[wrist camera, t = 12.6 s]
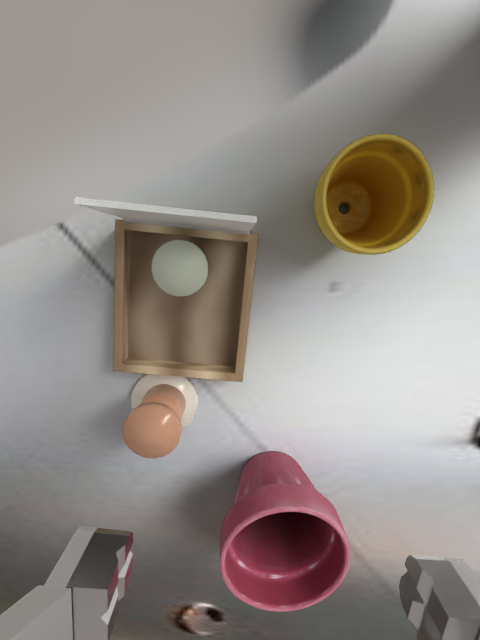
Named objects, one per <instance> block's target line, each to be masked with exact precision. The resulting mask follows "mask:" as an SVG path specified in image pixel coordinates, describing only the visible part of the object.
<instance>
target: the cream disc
mask: <svg viewBox="0 0 480 640" xmlns="http://www.w3.org/2000/svg"><path fill="white" fill-rule="evenodd" d="M159 384H169V385H172V386H174V387H176V388H178V389H179V390H180V391H181V392H182V394H183V395H184V397H185V401H186V406H185V410H184V414H183V417H182V420H181V429H183V428H185V427H186V426H188V425H189V424H190V423H191V422H192V420H193V419H194V417H195V415H196V412H197V409H198V394H197V391H196V389H195V387H194V385H193V384H192V382H191V381H190V380H189V379H188V378H187V377H179V376H168V375H156V374H146V375H145V376H144V377H142V378H141V379H140V380H139V382H138V383H137V384H136V386H135V387H134V389H133V391H132V394H131V408H132V410H133V409H134V408H136V407H137V406H139V404H140V403H141V401H142V400H143V398H144V396H145V395H146V393H147V392H148V390H149V389H151V388H152V387H154V386H156V385H159Z"/></svg>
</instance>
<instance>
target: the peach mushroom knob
mask: <svg viewBox="0 0 480 640" xmlns="http://www.w3.org/2000/svg"><path fill="white" fill-rule="evenodd" d="M185 406H186V401H185V397H184V395H183V394H182V392H181V391H180V390H179V389H178V388H176V387H174V386H172V385H169V384H159V385H156V386H154V387H152V388H151V389H149V390H148V392H147V393H146V395H145V396H144V398H143V400H142V401H141V403H140V404H139V406H137V407H136V408H134V409H133V410H132V411H131V413H130V414H129V416H128V417H127V419H126V420H125V422H124V425H123V438H124V441H125V443H126V444H127V446H128V447H129V448H130V449H131V450H132V451H133V452H134V453H136V454H138V455H140V456H142V457H146V458H159V457H163V456H165V455H167V454H169V453H170V452H171V451H173V450H174V448H175V447H176V446H177V444H178V441H179V438H180V435H181V430H182V429H181V420H182V417H183V414H184V410H185Z"/></svg>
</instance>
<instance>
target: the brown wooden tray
mask: <svg viewBox="0 0 480 640" xmlns="http://www.w3.org/2000/svg"><path fill="white" fill-rule="evenodd" d="M173 240H183V241H188V242H191V243H193V244H195V245H196V246H197V247H199V248H200V249H201V250H202V252H203V253H204V254H205V256H206V257H207V260H208V276H207V279H206V281H205V283H204V284H203V286H202V287H201V288H200V289H199V290H198V291H196V292H195V293H193V294H191V295H188V296H182V297H181V296H173V295H170V294H168V293H166V292H165V291H163V290H162V289H161V288H160V287H159V286H158V285H157V283H156V282H155V280H154V277H153V274H152V260H153V257H154V255H155V253H156V251H157V250H158V249H159V248H160V247H161V246H162V245H163V244H165V243H167V242H170V241H173ZM257 242H258V234H254V233H250V235H246V234H236V233H227V232H217V231H208V230H198V229H188V228H179V227H169V226H160V225H150V224H140V223H131V222H124V220H120V219H115V289H114V368H113V371H121V372H133V373H144V374H156V375H168V376H179V377H191V378H203V379H214V380H226V381H237V382H242V381H243V371H244V362H245V353H246V344H247V334H248V325H249V316H250V307H251V298H252V288H253V279H254V270H255V261H256V251H257Z"/></svg>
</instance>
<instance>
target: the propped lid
mask: <svg viewBox="0 0 480 640" xmlns="http://www.w3.org/2000/svg"><path fill="white" fill-rule="evenodd" d="M75 204H77V205H80V206H84V207H87V208H90V209H94V210H97V211H101V212H104V213H107V214H111V215H114V216H118V217H121V218H123V220H124V222H131V223H140V224H150V225H160V226H169V227H179V228H188V229H198V230H208V231H217V232H227V233H236V234H246V235H250V231H251V229H252V228H253V227H254V226H255V224H256V222H257V216H249V215H239V214H230V213H221V212H211V211H202V210H192V209H183V208H174V207H164V206H155V205H146V204H136V203H127V202H117V201H108V200H98V199H89V198H80V197H75Z"/></svg>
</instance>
